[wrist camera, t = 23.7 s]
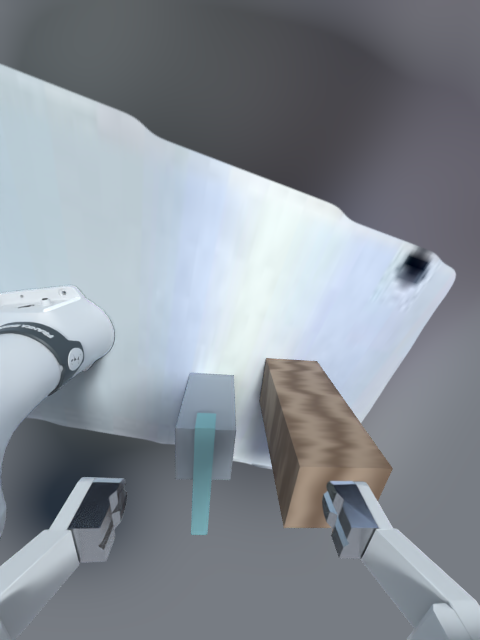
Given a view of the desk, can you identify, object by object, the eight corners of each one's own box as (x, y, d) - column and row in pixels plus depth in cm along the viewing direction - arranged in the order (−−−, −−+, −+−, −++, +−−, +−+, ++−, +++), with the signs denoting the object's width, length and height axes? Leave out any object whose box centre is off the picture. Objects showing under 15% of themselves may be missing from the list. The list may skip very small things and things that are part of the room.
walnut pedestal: (259, 400, 56) (283, 527, 32) (266, 358, 52) (299, 466, 28) (306, 403, 57) (365, 527, 33) (317, 361, 53) (392, 468, 29)
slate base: (189, 414, 57) (175, 479, 42) (190, 372, 52) (175, 428, 37) (229, 415, 57) (230, 479, 42) (233, 375, 53) (236, 430, 38)
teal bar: (193, 516, 46) (191, 534, 43) (197, 412, 37) (194, 427, 34) (208, 516, 46) (207, 534, 43) (216, 413, 37) (215, 428, 34)
